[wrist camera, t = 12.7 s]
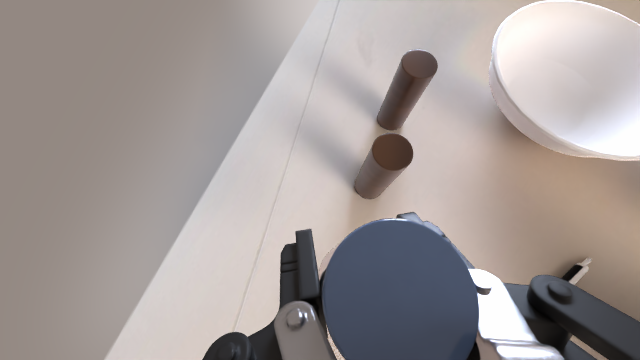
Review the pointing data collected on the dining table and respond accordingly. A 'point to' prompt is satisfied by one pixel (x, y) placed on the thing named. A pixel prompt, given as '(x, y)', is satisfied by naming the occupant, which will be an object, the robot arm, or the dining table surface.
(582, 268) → the pen
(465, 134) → the dining table surface
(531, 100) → the bowl
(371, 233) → the cylinder
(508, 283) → the robot arm
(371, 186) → the pegs
